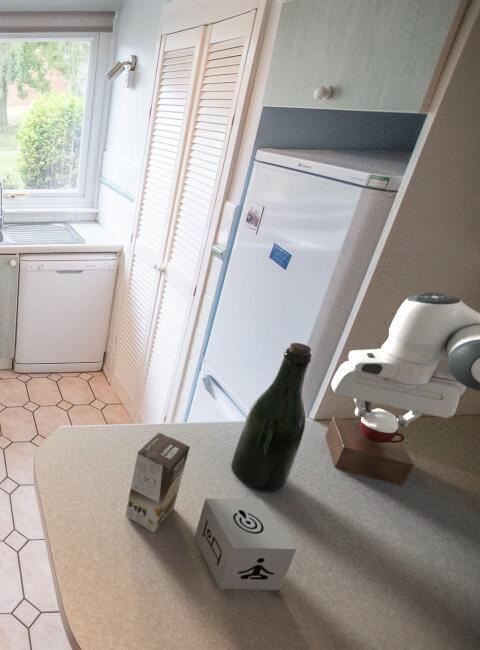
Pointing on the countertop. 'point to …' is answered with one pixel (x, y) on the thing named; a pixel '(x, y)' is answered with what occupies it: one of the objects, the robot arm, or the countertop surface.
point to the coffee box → (156, 481)
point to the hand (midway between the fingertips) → (379, 419)
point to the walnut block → (367, 453)
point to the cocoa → (379, 425)
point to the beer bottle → (274, 426)
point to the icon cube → (243, 544)
